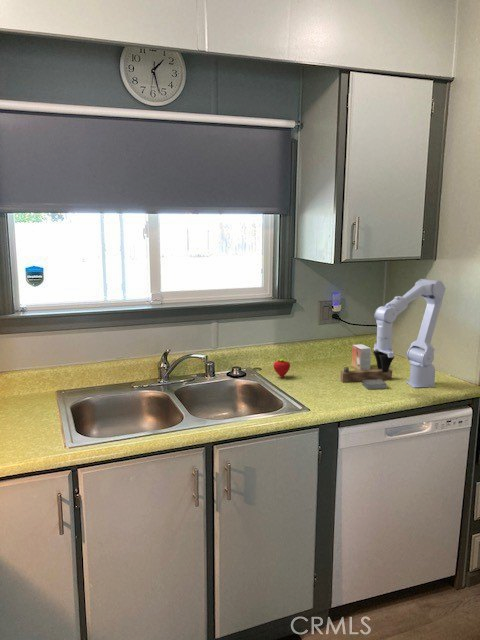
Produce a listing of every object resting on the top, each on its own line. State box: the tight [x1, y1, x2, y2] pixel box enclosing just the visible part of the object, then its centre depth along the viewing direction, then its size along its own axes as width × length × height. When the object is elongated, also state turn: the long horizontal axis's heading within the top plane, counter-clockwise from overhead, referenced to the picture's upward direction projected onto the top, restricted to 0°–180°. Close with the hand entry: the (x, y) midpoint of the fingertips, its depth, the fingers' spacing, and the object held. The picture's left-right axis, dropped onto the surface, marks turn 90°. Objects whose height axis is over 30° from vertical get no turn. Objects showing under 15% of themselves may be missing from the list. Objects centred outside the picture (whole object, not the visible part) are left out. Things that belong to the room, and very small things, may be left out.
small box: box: [350, 343, 372, 370], centre depth 246 cm, size 8×6×10 cm
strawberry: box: [272, 355, 291, 378], centre depth 234 cm, size 6×8×10 cm
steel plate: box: [361, 379, 387, 390], centre depth 221 cm, size 8×6×2 cm
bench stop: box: [339, 366, 393, 383], centre depth 229 cm, size 22×3×6 cm, turn 98°
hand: (382, 370), depth 212 cm, fingers open, 4 cm apart
